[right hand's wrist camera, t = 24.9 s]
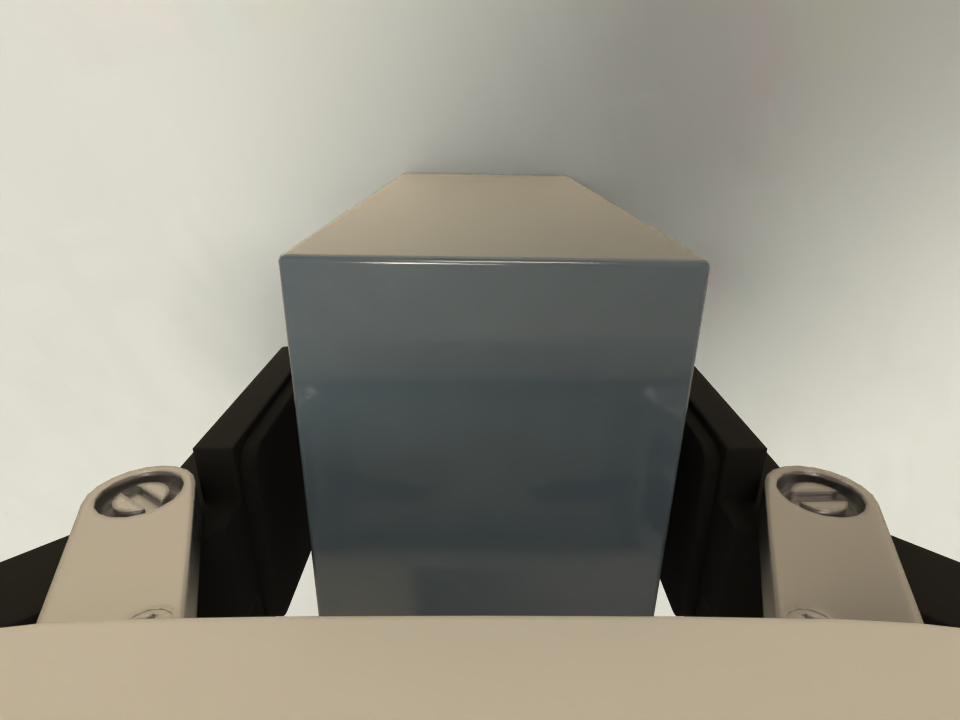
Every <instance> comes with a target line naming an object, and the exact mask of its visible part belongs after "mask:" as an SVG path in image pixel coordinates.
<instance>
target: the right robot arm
mask: <svg viewBox="0 0 960 720" xmlns="http://www.w3.org/2000/svg"><path fill="white" fill-rule="evenodd" d="M310 552H311V543H310V534H309V525H308V516H307V507H306V499H305V490H304V481H303V472H302V463H301V454H300V446H299V437H298V428H297V419H296V410H295V401H294V393H293V384H292V375H291V366H290V357H289V348H288V347H282V348H281V349H280V350H279V351H278V352H277V354H276V355H275V356H274V357H273V358H272V359H271V360H270V362H269V363H268V364H267V365H266V366H265V367H264V368H263V370H262V371H261V372H260V373H259V374H258V375H257V376H256V377H255V379H254V380H253V381H252V382H251V383H250V384H249V385H248V387H247V388H246V389H245V390H244V391H243V392H242V393H241V394H240V396H239V397H238V398H237V399H236V400H235V401H234V402H233V404H232V405H231V406H230V407H229V408H228V409H227V410H226V411H225V413H224V414H223V415H222V416H221V417H220V418H219V419H218V421H217V422H216V423H215V424H214V425H213V426H212V427H211V429H210V430H209V431H208V432H207V433H206V434H205V435H204V436H203V438H202V439H201V440H200V441H199V442H198V443H197V444H196V446H195V447H194V448H193V453H192V455H191V456H190V457H189V458H188V459H187V460H186V461H185V463H184V464H183V465H182V466H181V467H180V468H179V467H176V466H155V467H146V468H142V469H138V470H134V471H130V472H127V473H124V474H122V475H119V476H116V477H114V478H112V479H110V480H108V481H106V482H104V483H103V484H101V485H99V486H98V487H96V488H95V489H94V490H93V491H92V492H90V493H89V494H88V495H87V496H86V498H85V499H84V501H83V502H82V504H81V507H80V509H79V512H78V514H77V517H76V520H75V522H74V525H73V528H72V530H71V533H70V535H69V536H66V537H63V538H61V539H58V540H56V541H53V542H51V543H48V544H46V545H43V546H41V547H38V548H36V549H33V550H30V551H28V552H25V553H23V554H20V555H18V556H15V557H13V558H10V559H8V560H5V561H2V562H0V720H960V562H958V561H955V560H952V559H950V558H947V557H945V556H942V555H940V554H937V553H935V552H932V551H930V550H927V549H925V548H922V547H919V546H917V545H914V544H912V543H909V542H907V541H904V540H902V539H899V538H897V537H894V536H891V535H890V533H889V530H888V528H887V525H886V522H885V520H884V517H883V514H882V512H881V509H880V507H879V504H878V502H877V501H876V499H875V498H874V496H873V495H872V494H871V493H870V492H868V491H867V490H866V489H865V488H864V487H862V486H861V485H859V484H857V483H856V482H854V481H852V480H850V479H848V478H846V477H844V476H841V475H838V474H836V473H833V472H830V471H826V470H822V469H818V468H814V467H805V466H784V467H781V468H780V467H779V466H778V465H777V464H776V463H775V461H774V460H773V459H772V458H771V457H770V456H769V455H768V453H767V448H766V447H765V446H764V444H763V443H762V442H761V441H760V440H759V439H758V438H757V436H756V435H755V434H754V433H753V432H752V431H751V430H750V429H749V427H748V426H747V425H746V424H745V423H744V422H743V421H742V419H741V418H740V417H739V416H738V415H737V414H736V413H735V411H734V410H733V409H732V408H731V407H730V406H729V405H728V404H727V402H726V401H725V400H724V399H723V398H722V397H721V396H720V394H719V393H718V392H717V391H716V390H715V389H714V388H713V387H712V385H711V384H710V383H709V382H708V381H707V380H706V379H705V377H704V376H703V375H702V374H701V373H700V372H699V371H698V370H697V368H696V367H695V366H694V370H693V376H692V382H691V388H690V395H689V401H688V407H687V413H686V419H685V426H684V432H683V438H682V444H681V450H680V457H679V463H678V469H677V475H676V482H675V488H674V494H673V500H672V506H671V513H670V519H669V525H668V531H667V537H666V544H665V550H664V556H663V562H662V568H661V575H660V580H661V582H662V585H663V588H664V590H665V593H666V595H667V598H668V600H669V603H670V605H671V608H672V610H673V612H674V614H675V615H676V616H685V617H656V616H304V617H275V616H284V615H285V614H286V612H287V610H288V608H289V605H290V603H291V600H292V598H293V595H294V593H295V590H296V588H297V585H298V582H299V580H300V577H301V575H302V572H303V570H304V567H305V565H306V562H307V560H308V557H309V555H310Z"/></svg>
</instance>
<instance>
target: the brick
mask: <svg viewBox="0 0 960 720" xmlns="http://www.w3.org/2000/svg"><path fill="white" fill-rule="evenodd" d="M279 269H280V278H281V287H282V296H283V304H284V313H285V322H286V331H287V340H288V348H289V357H290V366H291V375H292V384H293V393H294V401H295V410H296V419H297V428H298V437H299V446H300V454H301V463H302V472H303V481H304V490H305V499H306V507H307V516H308V525H309V534H310V543H311V551H312V560H313V569H314V578H315V587H316V596H317V604H318V613H319V616H654V612H655V606H656V599H657V593H658V587H659V581H660V575H661V568H662V562H663V556H664V550H665V544H666V537H667V531H668V525H669V519H670V513H671V506H672V500H673V494H674V488H675V482H676V475H677V469H678V463H679V457H680V450H681V444H682V438H683V432H684V426H685V419H686V413H687V407H688V401H689V395H690V388H691V382H692V376H693V370H694V364H695V357H696V351H697V345H698V339H699V333H700V326H701V320H702V314H703V308H704V302H705V295H706V289H707V283H708V277H709V271H710V265H709V262H708V261H707V260H705V259H703V258H702V257H700V256H698V255H697V254H695V253H693V252H692V251H690V250H688V249H687V248H685V247H683V246H682V245H680V244H679V243H677V242H675V241H674V240H672V239H670V238H669V237H667V236H665V235H664V234H662V233H660V232H659V231H657V230H655V229H654V228H652V227H650V226H649V225H647V224H645V223H644V222H642V221H641V220H639V219H637V218H636V217H634V216H632V215H631V214H629V213H627V212H626V211H624V210H622V209H621V208H619V207H617V206H616V205H614V204H612V203H611V202H609V201H607V200H606V199H604V198H603V197H601V196H599V195H598V194H596V193H594V192H593V191H591V190H589V189H588V188H586V187H584V186H583V185H581V184H579V183H578V182H576V181H574V180H573V179H571V178H570V177H568V176H545V175H479V174H412V173H405V174H403V175H401V176H400V177H398V178H397V179H395V180H394V181H392V182H391V183H389V184H388V185H386V186H385V187H383V188H381V189H380V190H378V191H377V192H375V193H374V194H372V195H371V196H369V197H368V198H366V199H365V200H363V201H362V202H360V203H359V204H357V205H356V206H354V207H353V208H351V209H350V210H348V211H347V212H345V213H344V214H342V215H341V216H339V217H338V218H336V219H335V220H333V221H332V222H330V223H329V224H327V225H326V226H324V227H323V228H321V229H320V230H318V231H317V232H315V233H314V234H312V235H311V236H309V237H308V238H306V239H305V240H303V241H302V242H300V243H299V244H297V245H296V246H294V247H293V248H291V249H289V250H288V251H286V252H285V253H283V254H282V255H280V258H279Z"/></svg>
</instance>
